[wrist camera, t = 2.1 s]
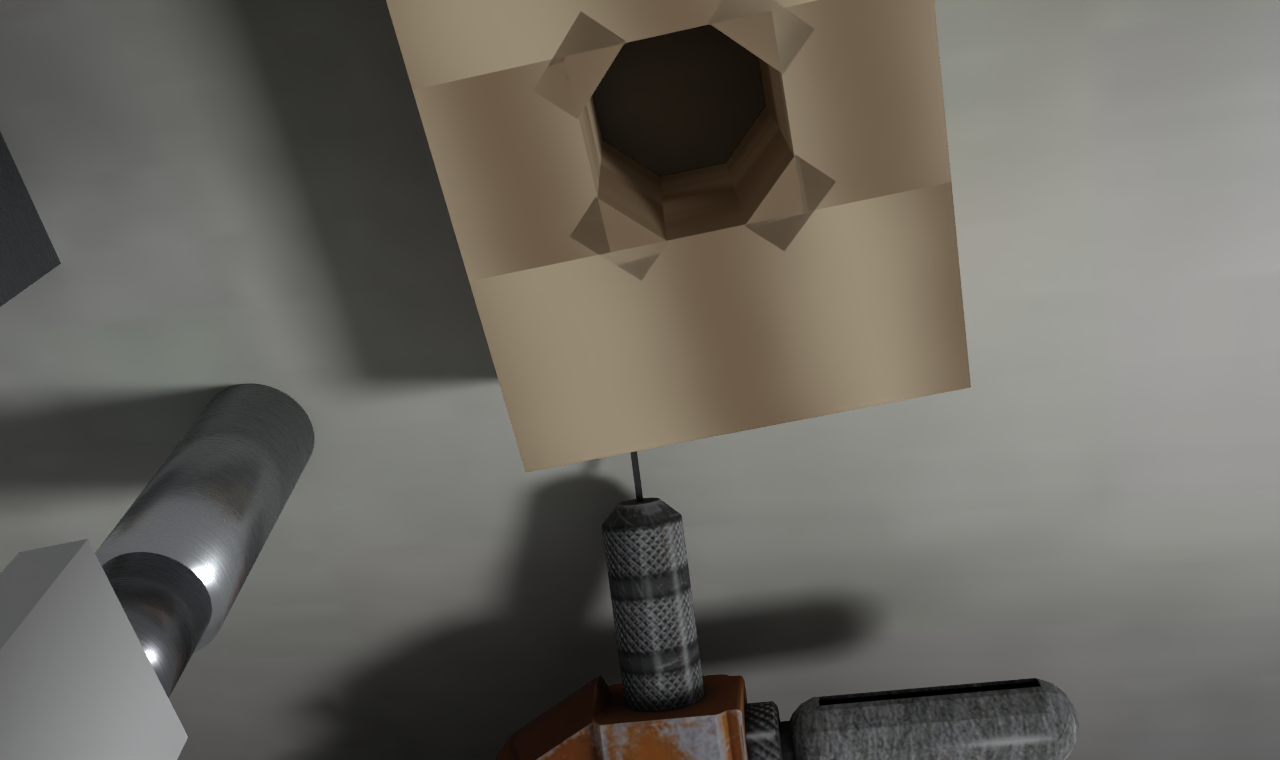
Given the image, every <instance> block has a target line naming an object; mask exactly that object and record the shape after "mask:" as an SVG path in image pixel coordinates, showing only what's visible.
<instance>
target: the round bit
mask: <svg viewBox="0 0 1280 760" xmlns="http://www.w3.org/2000/svg"><path fill="white" fill-rule="evenodd" d="M313 448H314V431H313V427H312V424H311V422H310V419H309V417H308V416H307V414H306V412H305V411H304V410H303V409H302V407H301V406H300V405H299V404H298V403H297V402H296V401H295V400H294V399H292V398H291V397H290V396H288V395H287V394H285V393H283V392H281V391H279V390H277V389H275V388H272V387H269V386H264V385H258V384H243V385H237V386H233V387H231V388H228V389H226V390H224V391H222V392H221V393H219V394H218V395H217V396H216V397H214V399H213V400H212V401H211V402H210V403H209V404H208V406H207V407H206V408H205V410H204V411H203V412H202V414H201V415H200V416H199V418H198V419H197V420H196V422H195V423H194V424H193V425H192V427H191V428H190V429H189V431H188V432H187V433H186V435H185V436H184V437H183V439H182V440H181V441H180V443H179V444H178V445H177V446H176V448H175V449H174V450H173V452H172V453H171V454H170V456H169V457H168V458H167V460H166V461H165V462H164V464H163V465H162V466H161V467H160V469H159V470H158V471H157V473H156V474H155V475H154V477H153V478H152V479H151V481H150V482H149V483H148V485H147V486H146V487H145V489H144V490H143V491H142V492H141V494H140V495H139V496H138V498H137V499H136V500H135V502H134V503H133V504H132V506H131V507H130V508H129V510H128V511H127V512H126V513H125V515H124V516H123V517H122V519H121V520H120V521H119V523H118V524H117V525H116V527H115V528H114V529H113V531H112V532H111V533H110V534H109V536H108V537H107V538H106V540H105V541H104V542H103V544H102V545H101V546H100V548H99V549H98V550H97V552H96V553H95V554H96V556H97V558H98V560H99V562H100V564H101V566H102V568H103V570H104V572H105V574H106V576H107V578H108V580H109V582H110V584H111V586H112V588H113V590H114V592H115V594H116V596H117V598H118V600H119V602H120V604H121V606H122V608H123V610H124V612H125V614H126V616H127V618H128V620H129V622H130V624H131V626H132V628H133V630H134V632H135V633H136V635H137V637H138V639H139V641H140V643H141V645H142V647H143V649H144V651H145V653H146V655H147V657H148V659H149V661H150V663H151V665H152V667H153V669H154V671H155V673H156V675H157V677H158V679H159V681H160V683H161V685H162V687H163V689H164V691H165V693H166V695H167V697H168V698H169V696H170V694H171V693H172V691H173V689H174V687H175V685H176V683H177V682H178V680H179V678H180V676H181V674H182V672H183V671H184V669H185V667H186V665H187V663H188V661H189V660H190V658H191V656H192V654H193V653H194V652H196V651H198V650H200V649H202V648H203V647H204V646H206V645H207V644H208V643H209V642H210V641H211V640H212V639H214V637H215V636H216V634H217V633H218V631H219V629H220V628H221V626H222V624H223V622H224V620H225V618H226V616H227V614H228V612H229V610H230V609H231V607H232V605H233V603H234V601H235V599H236V597H237V595H238V593H239V591H240V590H241V588H242V586H243V584H244V582H245V580H246V578H247V576H248V574H249V572H250V571H251V569H252V567H253V565H254V563H255V561H256V559H257V557H258V555H259V553H260V552H261V550H262V548H263V546H264V544H265V542H266V540H267V538H268V536H269V534H270V533H271V531H272V529H273V527H274V525H275V523H276V521H277V519H278V517H279V515H280V514H281V512H282V510H283V508H284V506H285V504H286V502H287V500H288V498H289V496H290V495H291V493H292V491H293V489H294V487H295V485H296V483H297V481H298V479H299V477H300V476H301V474H302V472H303V470H304V468H305V466H306V464H307V462H308V460H309V458H310V456H311V454H312V451H313Z"/></svg>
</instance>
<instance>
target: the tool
mask: <svg viewBox="0 0 1280 760" xmlns="http://www.w3.org/2000/svg"><path fill="white" fill-rule="evenodd" d="M631 459H632V467H633V475H634V482H635V490H636V498H637V499H635V500H629V501H625V502H622V503H620V504H618V506H617V507H616V508H615V509H614V511H613V512H612V513H611V514H610V516H609V517H608V518H607V519H606V521H605V522H604V523H603V524H602V531H603V538H604V546H605V554H606V561H607V569H608V577H609V584H610V592H611V600H612V607H613V615H614V623H615V630H616V638H617V645H618V653H619V661H620V668H621V676H622V683H619V684H614V685H610V686H608V685H607V684H606V682H605V681H604V679H603V678H602V676H601V675H600V676H599V677H597V678H596V679H594V680H593V681H591V682H590V683H588V684H587V685H585V686H584V687H582V688H581V689H579V690H578V691H576V692H575V693H573V694H572V695H570V696H569V697H567V698H566V699H564V700H563V701H561V702H560V703H558V704H557V705H555V706H554V707H552V708H551V709H550V710H548V711H547V712H545V713H544V714H542V715H541V716H539V717H538V718H536V719H535V720H533V721H532V722H530V723H529V724H527V725H526V726H524V727H523V728H521V729H520V730H518V731H517V732H515V733H514V734H512V735H511V736H510V737H509V739H508V741H507V742H506V744H505V745H504V747H503V748H502V750H501V751H500V753H499V754H498V756H497V759H496V760H1065V759H1066V758H1067V757H1068V755H1069V754H1070V753H1071V751H1072V750H1073V749H1074V746H1075V743H1076V739H1077V736H1078V732H1079V724H1078V718H1077V714H1076V711H1075V708H1074V706H1073V704H1072V703H1071V701H1070V700H1069V698H1068V697H1067V695H1066V694H1065V693H1064V692H1063V691H1062V690H1061V689H1059V688H1058V687H1056V686H1055V685H1054V684H1052V683H1049V682H1046V681H1043V680H1040V679H1036V678H1030V679H1019V680H1007V681H996V682H984V683H973V684H961V685H950V686H938V687H926V688H915V689H903V690H892V691H880V692H869V693H857V694H846V695H834V696H822V697H812V698H811V699H809V700H807V701H805V702H804V703H802V704H801V705H800V706H799V707H798V708H797V709H796V711H795V712H794V713H793V714H792V716H791V719H790V721H783V722H780V718H779V712H778V707H777V705H776V704H775V703H774V702H773V701H771V702H760V703H748V704H747V697H746V689H745V681H744V679H743V677H742V676H728V675H723V674H719V675H708V676H702V670H701V662H700V654H699V647H698V639H697V631H696V623H695V616H694V608H693V600H692V592H691V585H690V577H689V569H688V561H687V554H686V546H685V538H684V530H683V523H682V516H681V514H679V513H678V512H677V511H675V510H674V509H673V508H671V507H670V506H669V505H667V504H666V503H665V502H663V501H662V500H661V499H659V498H643V496H642V488H641V480H640V473H639V465H638V457H637V451H635V452H631Z"/></svg>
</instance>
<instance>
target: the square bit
mask: <svg viewBox="0 0 1280 760" xmlns="http://www.w3.org/2000/svg"><path fill="white" fill-rule="evenodd" d="M59 264H61V263H60V261H59V258H58V256H57V254H56V252H55V250H54V248H53V245H52V243H51V241H50V239H49V237H48V235H47V232H46V230H45V228H44V226H43V224H42V221H41V219H40V217H39V215H38V213H37V211H36V208H35V206H34V204H33V202H32V200H31V198H30V195H29V193H28V191H27V189H26V187H25V185H24V182H23V180H22V178H21V176H20V174H19V171H18V169H17V167H16V165H15V163H14V161H13V158H12V156H11V154H10V152H9V150H8V148H7V145H6V143H5V141H4V139H3V137H2V135H1V132H0V307H1V306H2V305H4V304H5V303H6V302H8V301H9V300H11V299H12V298H13V297H15V296H16V295H17V294H19V293H20V292H22V291H23V290H24V289H26V288H27V287H29V286H30V285H31V284H33V283H34V282H36V281H37V280H38V279H40V278H41V277H43V276H44V275H45V274H47V273H48V272H50V271H51V270H52V269H54V268H55V267H57V266H58V265H59Z"/></svg>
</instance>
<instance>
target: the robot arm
mask: <svg viewBox="0 0 1280 760" xmlns="http://www.w3.org/2000/svg"><path fill="white" fill-rule="evenodd" d="M187 738H188V736H187V734H186V732H185V730H184V728H183V726H182V724H181V722H180V720H179V718H178V716H177V714H176V713H175V711H174V709H173V707H172V705H171V703H170V701H169V699H168V697H167V695H166V693H165V691H164V689H163V687H162V685H161V683H160V681H159V679H158V677H157V675H156V673H155V671H154V669H153V667H152V665H151V663H150V661H149V659H148V657H147V655H146V653H145V651H144V649H143V647H142V645H141V643H140V641H139V639H138V637H137V635H136V633H135V632H134V630H133V628H132V626H131V624H130V622H129V620H128V618H127V616H126V614H125V612H124V610H123V608H122V606H121V604H120V602H119V600H118V598H117V596H116V594H115V592H114V590H113V588H112V586H111V584H110V582H109V580H108V578H107V576H106V574H105V572H104V570H103V568H102V566H101V564H100V562H99V560H98V558H97V556H96V554H95V552H94V550H93V549H92V547H91V545H90V543H89V541H88V539H85V540H80V541H75V542H70V543H65V544H60V545H54V546H49V547H44V548H39V549H34V550H29V551H24V552H19V553H18V554H17V555H16V556H15V558H14V559H13V560H12V561H11V562H10V563H9V564H8V566H7V567H6V568H5V569H4V570H3V571H2V573H1V574H0V760H177V758H178V756H179V754H180V752H181V750H182V748H183V746H184V744H185V742H186V740H187Z"/></svg>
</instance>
